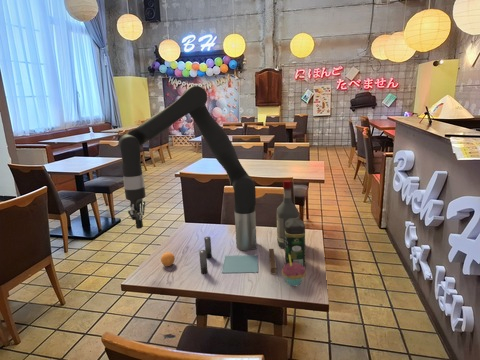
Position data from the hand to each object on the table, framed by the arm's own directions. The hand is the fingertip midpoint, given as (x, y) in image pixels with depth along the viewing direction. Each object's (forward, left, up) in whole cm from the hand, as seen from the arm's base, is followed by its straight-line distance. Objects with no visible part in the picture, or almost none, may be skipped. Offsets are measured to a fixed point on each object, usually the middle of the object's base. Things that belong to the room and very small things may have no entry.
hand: (139, 227), depth 128 cm
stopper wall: (-53, 0, -17) cm, 56 cm away
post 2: (-26, -6, -17) cm, 32 cm away
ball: (-10, 0, -14) cm, 17 cm away
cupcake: (-60, +14, -17) cm, 64 cm away
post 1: (-26, +6, -17) cm, 32 cm away
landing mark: (-40, 0, -17) cm, 43 cm away
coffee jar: (-62, +1, -17) cm, 64 cm away
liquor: (-61, -17, -17) cm, 66 cm away
